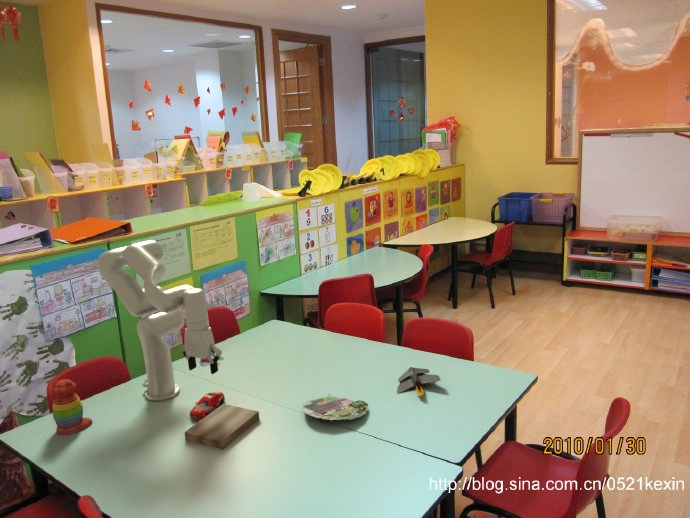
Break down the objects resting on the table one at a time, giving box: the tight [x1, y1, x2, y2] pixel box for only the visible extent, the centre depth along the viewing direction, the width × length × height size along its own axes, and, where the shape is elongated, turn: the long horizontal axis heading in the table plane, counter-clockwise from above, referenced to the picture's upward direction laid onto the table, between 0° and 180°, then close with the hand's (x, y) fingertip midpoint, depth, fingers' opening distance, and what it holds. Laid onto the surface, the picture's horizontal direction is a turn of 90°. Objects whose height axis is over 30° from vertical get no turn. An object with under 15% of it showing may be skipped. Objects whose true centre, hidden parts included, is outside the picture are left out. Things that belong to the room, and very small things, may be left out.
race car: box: [189, 391, 226, 421], centre depth 205 cm, size 16×7×5 cm, turn 159°
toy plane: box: [396, 366, 442, 398], centre depth 215 cm, size 25×17×5 cm
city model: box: [301, 395, 369, 424], centre depth 199 cm, size 25×23×6 cm
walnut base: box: [184, 403, 260, 451], centre depth 192 cm, size 15×20×3 cm
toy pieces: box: [199, 356, 225, 368], centre depth 247 cm, size 12×11×4 cm
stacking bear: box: [52, 378, 93, 436], centre depth 197 cm, size 11×10×18 cm
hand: (203, 370), depth 202 cm, fingers open, 9 cm apart
